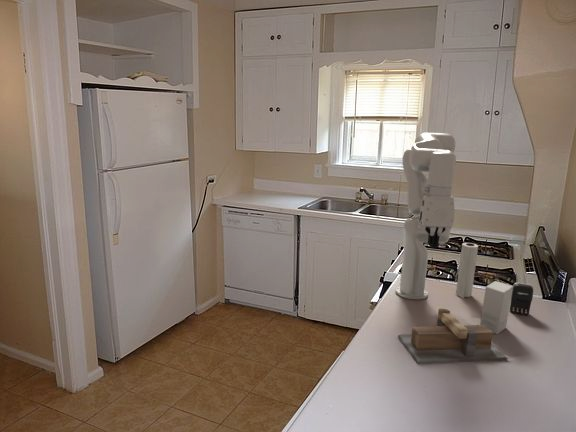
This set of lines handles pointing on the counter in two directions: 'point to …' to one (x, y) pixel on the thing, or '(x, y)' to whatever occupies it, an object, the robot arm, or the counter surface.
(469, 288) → the paper towel roll
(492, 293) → the skincare box
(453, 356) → the wooden gate latch
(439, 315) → the bar
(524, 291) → the battery charger
